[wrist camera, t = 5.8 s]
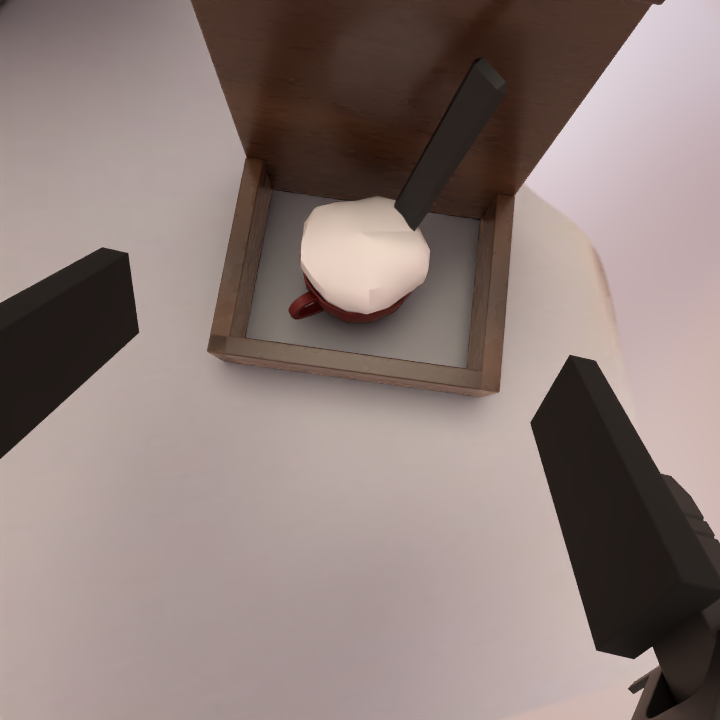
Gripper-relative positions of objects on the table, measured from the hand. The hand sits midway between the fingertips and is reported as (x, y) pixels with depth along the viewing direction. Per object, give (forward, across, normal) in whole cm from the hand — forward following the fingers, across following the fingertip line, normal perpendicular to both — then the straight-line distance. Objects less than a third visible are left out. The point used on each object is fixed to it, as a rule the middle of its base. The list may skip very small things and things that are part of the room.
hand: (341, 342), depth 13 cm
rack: (+13, 0, -4) cm, 13 cm away
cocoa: (+13, 0, -4) cm, 13 cm away
